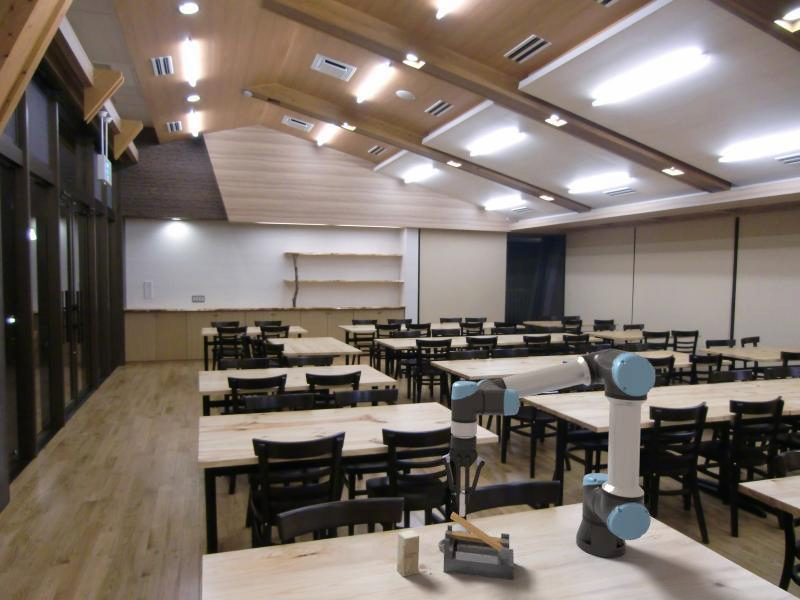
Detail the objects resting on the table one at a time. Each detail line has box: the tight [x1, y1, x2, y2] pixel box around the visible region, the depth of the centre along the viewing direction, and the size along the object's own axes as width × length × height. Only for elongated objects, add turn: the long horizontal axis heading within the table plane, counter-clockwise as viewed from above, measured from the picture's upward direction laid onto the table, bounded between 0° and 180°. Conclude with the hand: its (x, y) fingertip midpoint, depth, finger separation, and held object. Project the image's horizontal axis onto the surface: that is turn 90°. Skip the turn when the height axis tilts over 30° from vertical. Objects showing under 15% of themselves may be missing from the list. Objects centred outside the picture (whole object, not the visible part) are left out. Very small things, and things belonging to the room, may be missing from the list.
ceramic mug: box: [437, 523, 472, 551], centre depth 167 cm, size 11×8×8 cm
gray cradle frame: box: [443, 532, 515, 581], centre depth 156 cm, size 20×10×9 cm, turn 79°
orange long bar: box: [444, 529, 508, 544], centre depth 159 cm, size 19×2×2 cm, turn 79°
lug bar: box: [443, 524, 455, 559], centre depth 158 cm, size 2×10×5 cm, turn 169°
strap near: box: [450, 511, 508, 552], centre depth 153 cm, size 19×2×2 cm, turn 78°
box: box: [396, 529, 420, 577], centre depth 153 cm, size 5×4×11 cm
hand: (462, 514), depth 154 cm, fingers closed
